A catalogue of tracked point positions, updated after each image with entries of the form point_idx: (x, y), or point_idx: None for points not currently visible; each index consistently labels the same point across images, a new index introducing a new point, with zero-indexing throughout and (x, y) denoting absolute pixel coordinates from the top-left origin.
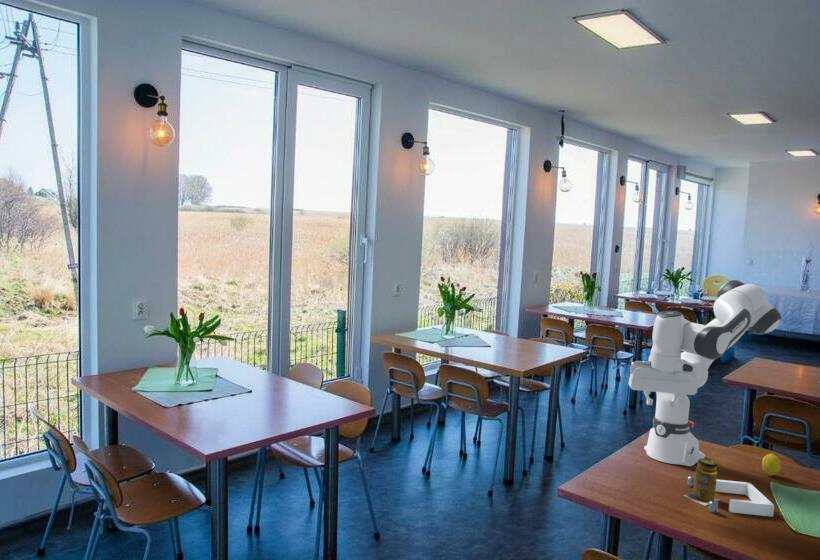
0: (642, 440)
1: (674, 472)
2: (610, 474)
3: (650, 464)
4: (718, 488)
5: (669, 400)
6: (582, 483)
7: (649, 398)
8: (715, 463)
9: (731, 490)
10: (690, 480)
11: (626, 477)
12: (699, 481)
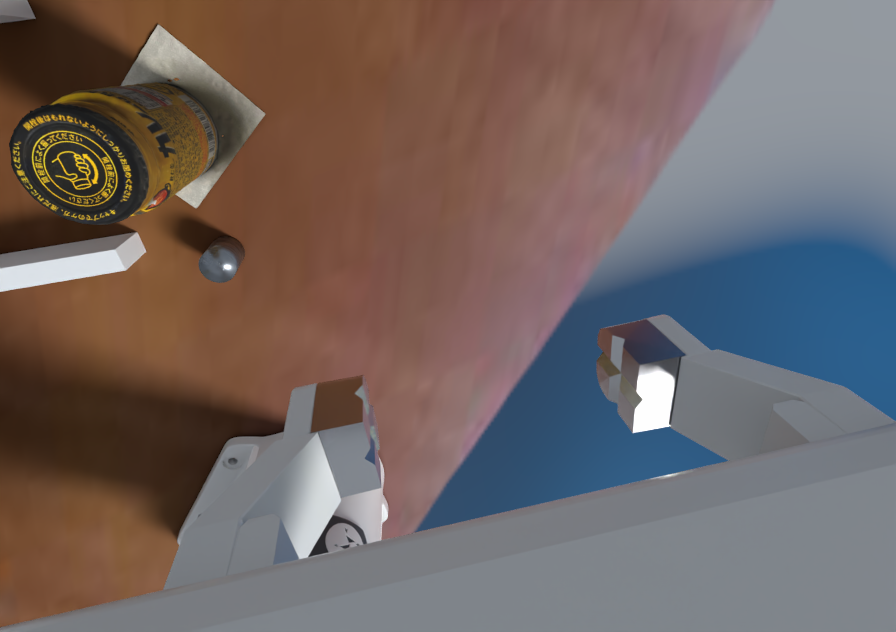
0: None
1: (292, 361)
2: (547, 232)
3: (378, 393)
4: (100, 242)
5: (370, 478)
6: (686, 81)
7: (715, 362)
8: (16, 149)
9: (41, 250)
10: (226, 248)
11: (488, 229)
12: (164, 106)
